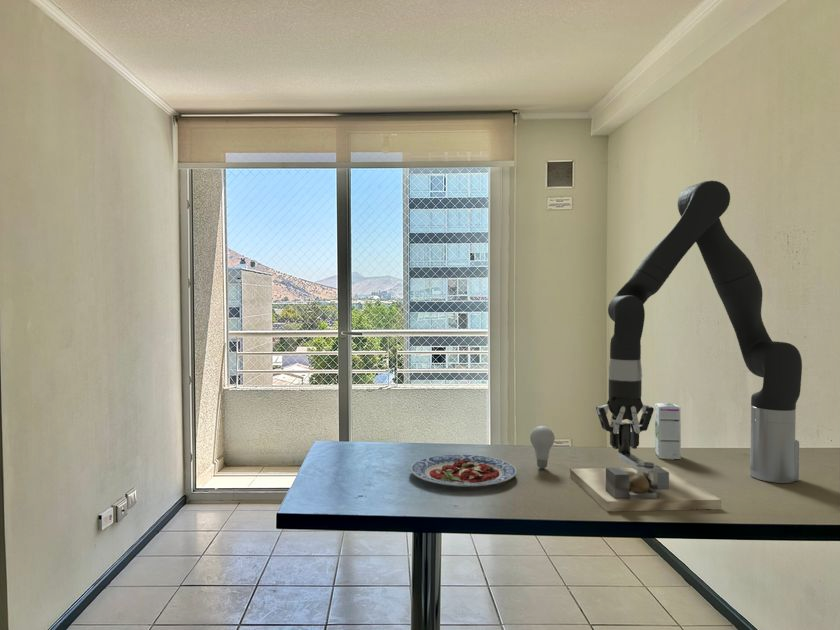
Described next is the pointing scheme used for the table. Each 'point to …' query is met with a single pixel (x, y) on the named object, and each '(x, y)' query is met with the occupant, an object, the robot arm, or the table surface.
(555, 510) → the table surface
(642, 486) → the walnut
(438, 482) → the ceramic plate
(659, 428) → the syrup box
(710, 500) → the base
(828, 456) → the table surface
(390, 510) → the table surface
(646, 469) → the lever
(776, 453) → the robot arm
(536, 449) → the lightbulb
